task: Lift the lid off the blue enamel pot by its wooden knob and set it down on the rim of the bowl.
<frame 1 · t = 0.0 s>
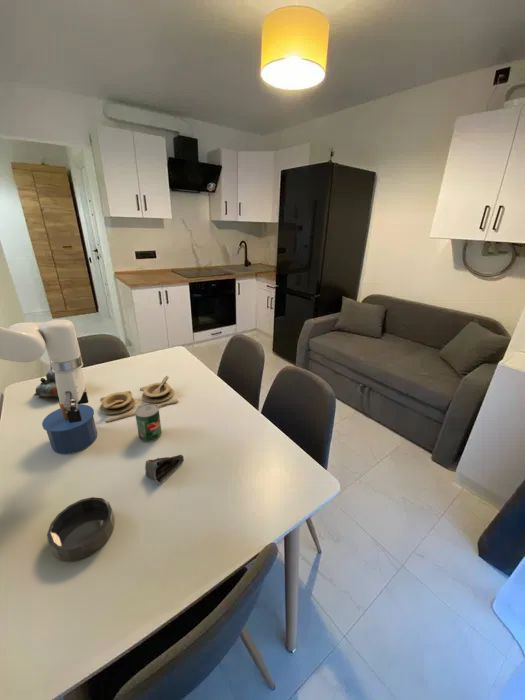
hand: (79, 412, 90), 17 cm above the table, tool pointing down, fingers open, 9 cm apart
canned tomato: (150, 435, 107), on the table
bowl: (84, 533, 73), on the table
tableware set: (139, 401, 126), on the table
chocolate cake: (163, 469, 92), on the table
pot: (75, 440, 102), on the table
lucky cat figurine: (55, 394, 128), on the table
pot lid: (69, 418, 98), point 9 cm above the table, touching pot
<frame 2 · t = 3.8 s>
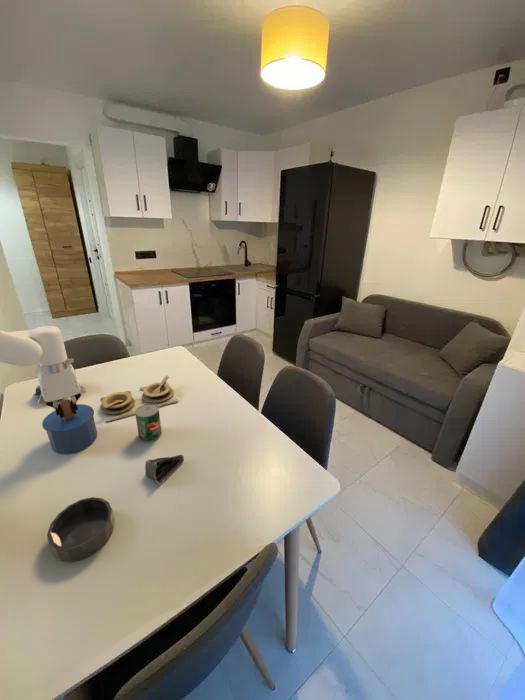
hand: (67, 413, 98), 11 cm above the table, tool pointing down, fingers closed on pot lid, 3 cm apart
pot lid: (69, 418, 98), point 10 cm above the table, touching gripper, pot
everything else where it was.
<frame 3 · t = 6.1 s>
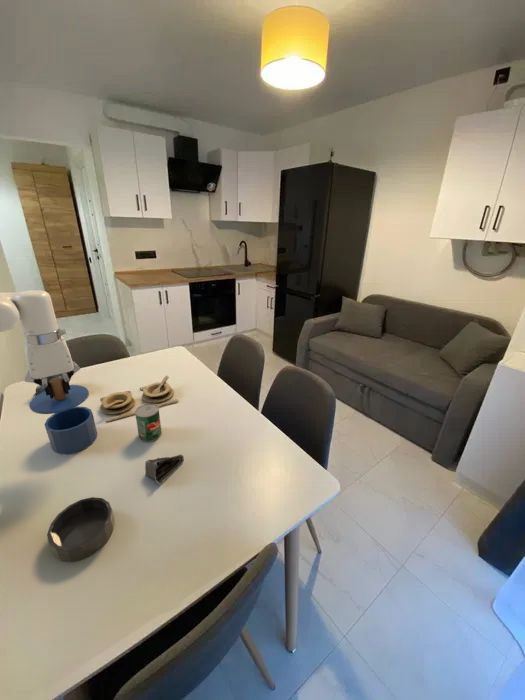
hand: (59, 393, 86), 24 cm above the table, tool pointing down, fingers closed on pot lid, 3 cm apart
pot lid: (60, 399, 87), point 22 cm above the table, touching gripper
everything else where it was.
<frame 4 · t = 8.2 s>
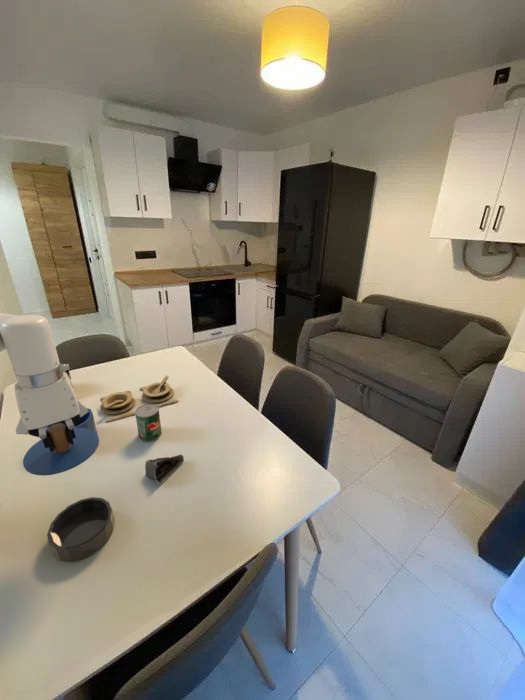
hand: (61, 444, 67), 24 cm above the table, tool pointing down, fingers closed on pot lid, 3 cm apart
pot lid: (63, 450, 68), point 22 cm above the table, touching gripper
everything else where it was.
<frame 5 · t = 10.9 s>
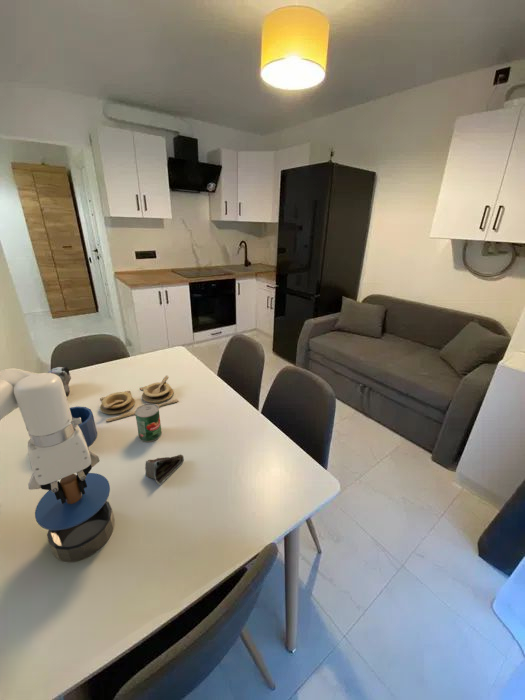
hand: (72, 493, 67), 14 cm above the table, tool pointing down, fingers closed on pot lid, 3 cm apart
pot lid: (74, 499, 68), point 12 cm above the table, touching gripper
everything else where it was.
when the fingers open (6 cm above the table, at t = 12.8 s): pot lid stays where it is, resting on bowl.
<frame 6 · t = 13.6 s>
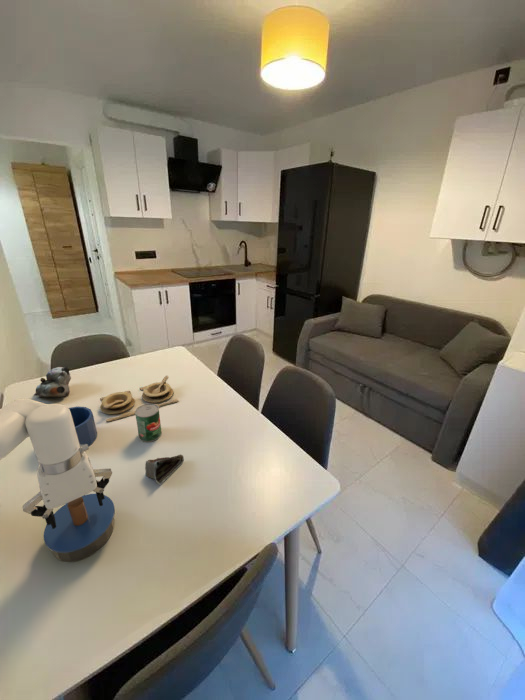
hand: (78, 512, 69), 8 cm above the table, tool pointing down, fingers open, 9 cm apart
pot lid: (81, 521, 71), point 4 cm above the table, touching bowl
everything else where it was.
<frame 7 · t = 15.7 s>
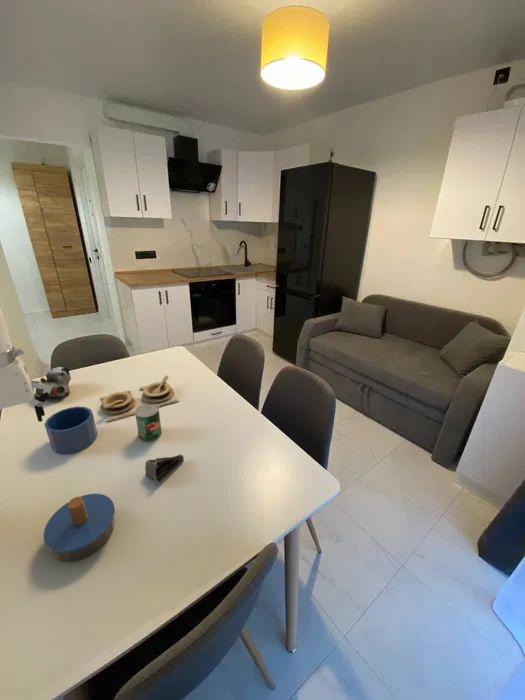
hand: (14, 425, 66), 28 cm above the table, tool pointing down, fingers open, 9 cm apart
nothing on the table moved.
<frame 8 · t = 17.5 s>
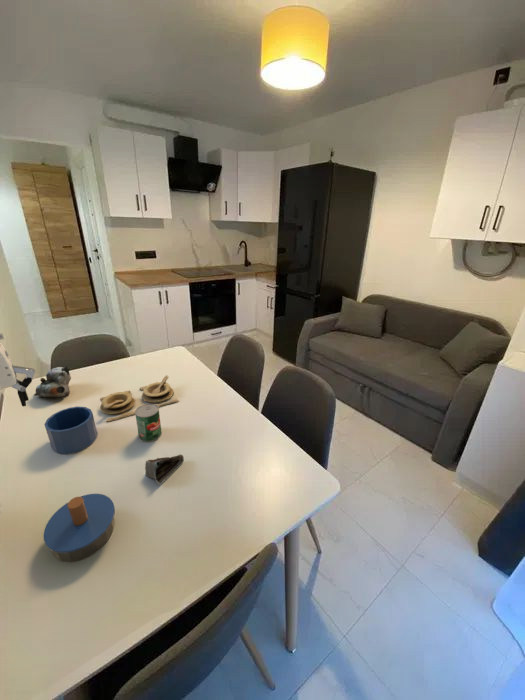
nothing on the table moved.
at the end: pot lid 0.0 cm off-centre on the bowl, point 4.5 cm above the bowl's base; pot lid tilted 0° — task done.
